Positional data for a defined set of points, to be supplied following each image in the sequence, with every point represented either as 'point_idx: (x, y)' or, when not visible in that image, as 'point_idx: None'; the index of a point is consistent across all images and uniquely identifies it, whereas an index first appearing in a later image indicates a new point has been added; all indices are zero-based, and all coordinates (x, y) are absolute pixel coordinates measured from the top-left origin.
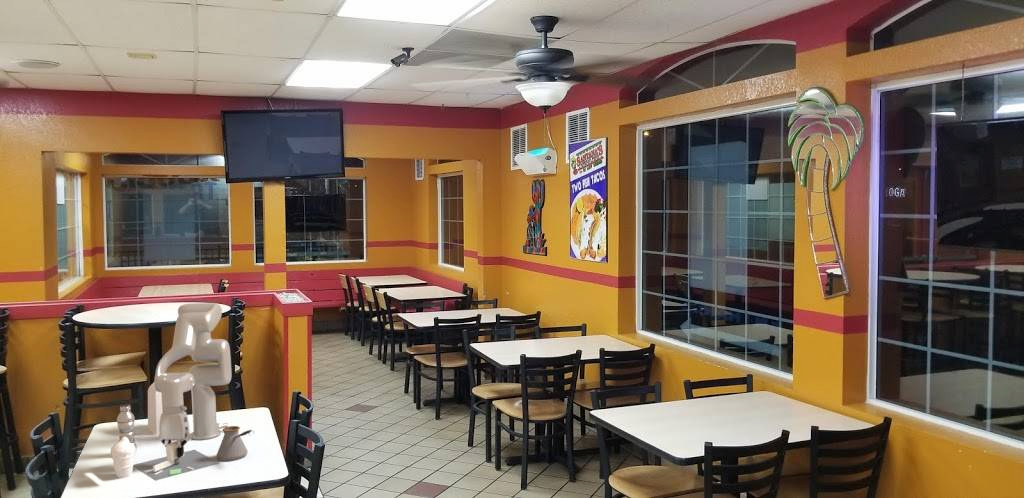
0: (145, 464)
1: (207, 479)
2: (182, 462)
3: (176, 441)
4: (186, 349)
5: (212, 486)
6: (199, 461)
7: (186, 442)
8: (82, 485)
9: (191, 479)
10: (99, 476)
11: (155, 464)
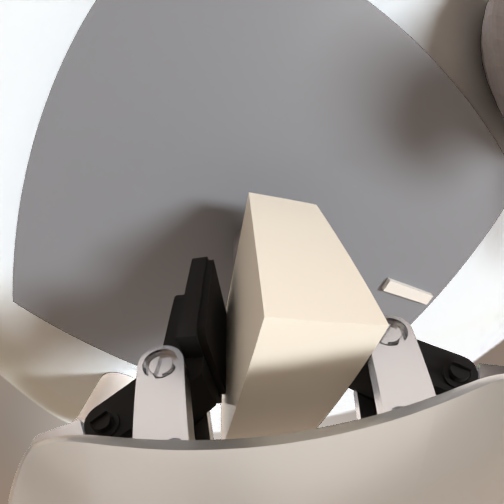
0: (55, 284)
1: (477, 315)
2: (290, 197)
3: (280, 386)
4: None
5: (489, 347)
6: (415, 158)
7: (448, 355)
8: (60, 411)
9: (425, 334)
10: (18, 361)
11: (109, 276)
